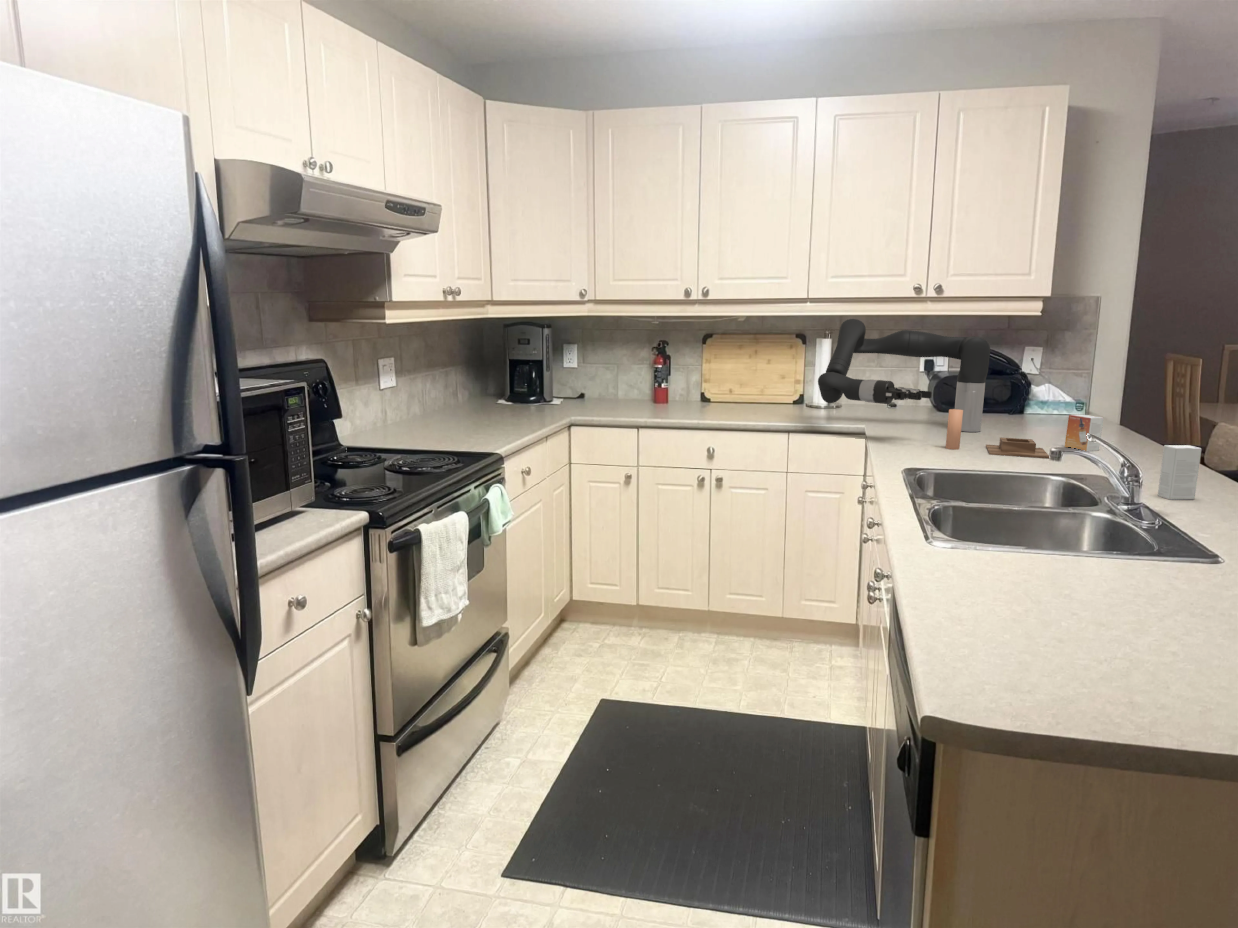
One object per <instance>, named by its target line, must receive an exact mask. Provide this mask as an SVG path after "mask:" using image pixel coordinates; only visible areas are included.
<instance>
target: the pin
mask: <svg viewBox="0 0 1238 928" xmlns="http://www.w3.org/2000/svg"><path fill="white" fill-rule="evenodd" d="M962 417H963V410H959V409H955V408H950V409H948V417H947V429H946V438H945V449H948V450H953V451H954V450H957V451H958V450H960V449H961V448H960V445H961V437H962V436H961V435H962V431H961V427H962Z"/></svg>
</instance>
